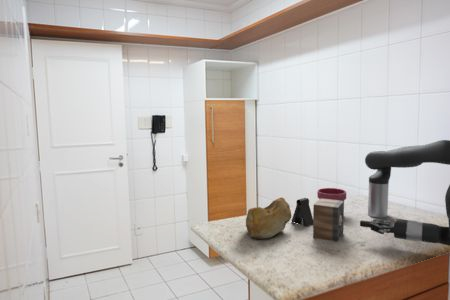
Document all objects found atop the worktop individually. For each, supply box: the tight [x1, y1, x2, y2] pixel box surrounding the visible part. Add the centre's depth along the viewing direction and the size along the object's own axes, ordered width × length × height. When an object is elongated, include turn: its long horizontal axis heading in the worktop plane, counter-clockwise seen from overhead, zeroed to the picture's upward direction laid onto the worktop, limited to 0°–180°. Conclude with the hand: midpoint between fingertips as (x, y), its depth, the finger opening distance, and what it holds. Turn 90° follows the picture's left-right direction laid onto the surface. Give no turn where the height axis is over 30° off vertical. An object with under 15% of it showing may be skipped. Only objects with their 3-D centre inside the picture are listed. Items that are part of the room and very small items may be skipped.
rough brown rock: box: [245, 197, 293, 240], centre depth 149 cm, size 23×17×15 cm
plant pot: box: [316, 187, 347, 202], centre depth 173 cm, size 14×14×13 cm
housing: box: [312, 198, 345, 243], centre depth 143 cm, size 12×10×14 cm
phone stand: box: [291, 197, 313, 227], centre depth 160 cm, size 9×6×12 cm, turn 39°
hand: (360, 223), depth 136 cm, fingers closed
